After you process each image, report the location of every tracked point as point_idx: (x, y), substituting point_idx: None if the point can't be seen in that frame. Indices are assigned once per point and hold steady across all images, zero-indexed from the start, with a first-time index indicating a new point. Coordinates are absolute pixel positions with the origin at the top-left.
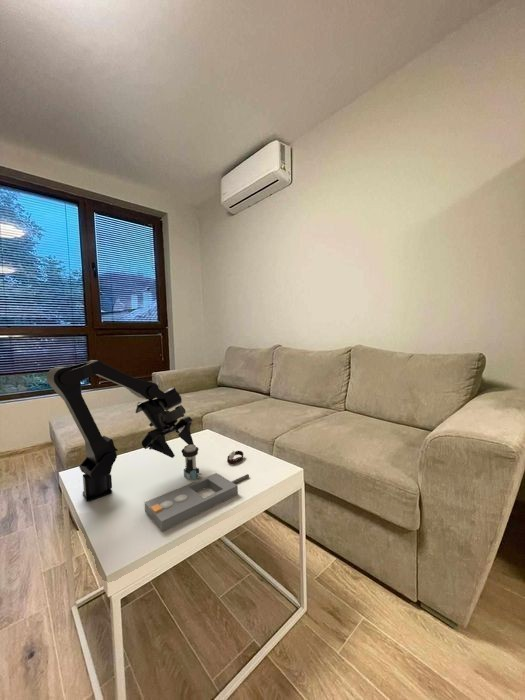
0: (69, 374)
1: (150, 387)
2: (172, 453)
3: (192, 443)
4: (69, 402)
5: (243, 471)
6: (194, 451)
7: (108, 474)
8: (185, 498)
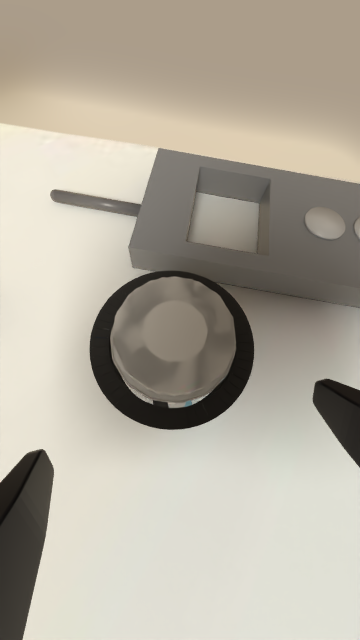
0: None
1: None
2: (350, 390)
3: (29, 467)
4: None
5: (21, 234)
6: (179, 273)
7: None
8: (315, 210)
